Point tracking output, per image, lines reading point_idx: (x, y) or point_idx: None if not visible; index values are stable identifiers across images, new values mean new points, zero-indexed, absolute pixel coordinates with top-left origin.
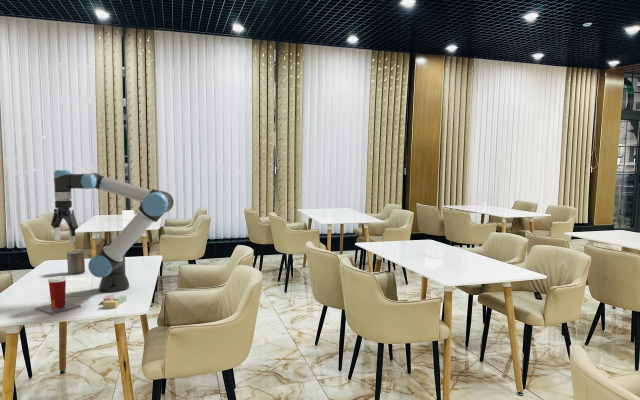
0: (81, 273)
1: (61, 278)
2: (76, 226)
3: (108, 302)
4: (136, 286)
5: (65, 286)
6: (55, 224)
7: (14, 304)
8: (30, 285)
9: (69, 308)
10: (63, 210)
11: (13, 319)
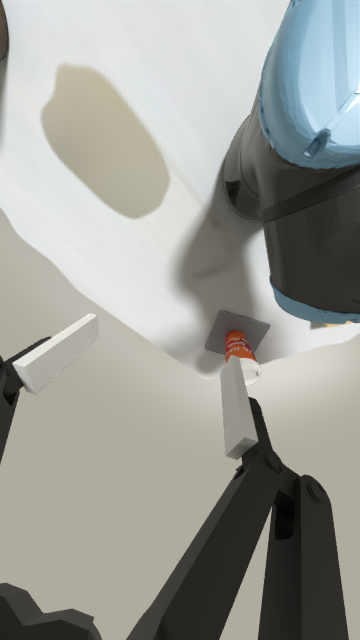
0: (4, 14)
1: (258, 379)
2: (319, 514)
3: (340, 324)
4: None
5: (254, 356)
6: (8, 425)
7: (155, 334)
8: (56, 235)
9: (260, 341)
10: None
11: (211, 377)
